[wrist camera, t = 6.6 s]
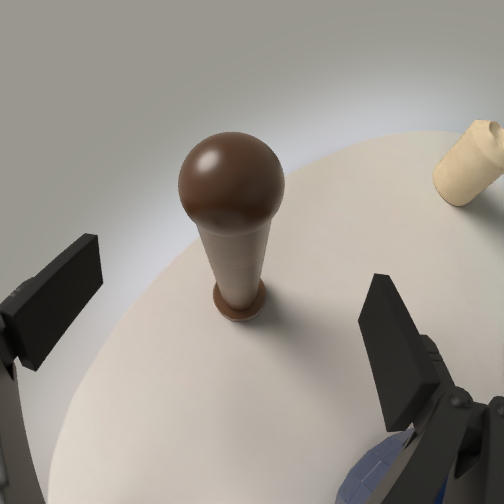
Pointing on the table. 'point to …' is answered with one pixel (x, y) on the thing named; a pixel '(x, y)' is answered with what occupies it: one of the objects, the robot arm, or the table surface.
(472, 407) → the robot arm
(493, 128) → the candle
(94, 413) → the table surface
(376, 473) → the blue bowl
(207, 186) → the brown wooden post
